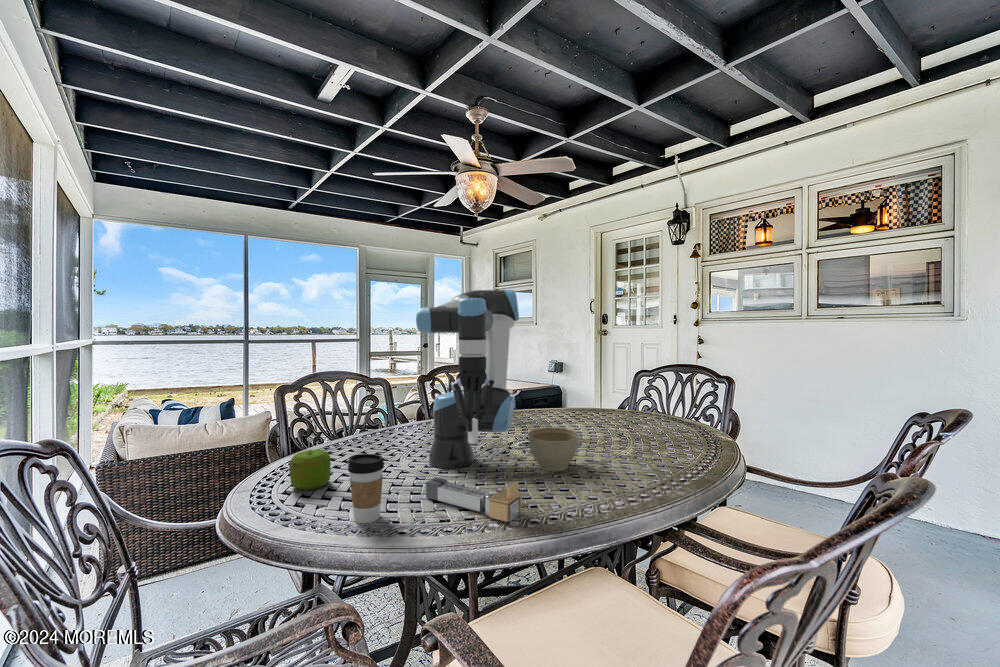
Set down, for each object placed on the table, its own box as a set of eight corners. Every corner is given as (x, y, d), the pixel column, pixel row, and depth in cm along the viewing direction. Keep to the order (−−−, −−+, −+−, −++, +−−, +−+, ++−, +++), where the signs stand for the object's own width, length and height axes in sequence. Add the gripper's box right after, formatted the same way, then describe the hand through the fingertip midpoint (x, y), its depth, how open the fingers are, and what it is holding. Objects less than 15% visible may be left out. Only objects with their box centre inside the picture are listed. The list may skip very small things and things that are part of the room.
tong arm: (489, 505, 113) (489, 489, 113) (485, 508, 112) (485, 491, 111) (435, 492, 122) (435, 477, 122) (431, 494, 121) (431, 479, 120)
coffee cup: (353, 511, 111) (352, 452, 111) (387, 509, 112) (386, 451, 112) (344, 526, 103) (343, 463, 103) (381, 525, 104) (380, 462, 103)
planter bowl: (521, 472, 139) (521, 437, 138) (536, 457, 153) (536, 425, 153) (572, 478, 132) (572, 443, 132) (583, 462, 147) (583, 430, 147)
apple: (322, 476, 136) (321, 441, 136) (337, 485, 128) (337, 448, 128) (284, 486, 128) (283, 449, 128) (298, 497, 121) (297, 457, 120)
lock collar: (521, 511, 110) (520, 480, 109) (507, 522, 104) (507, 489, 104) (503, 506, 112) (503, 476, 112) (489, 517, 107) (489, 485, 106)
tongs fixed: (518, 514, 109) (518, 496, 109) (510, 521, 105) (509, 502, 105) (436, 493, 122) (436, 477, 122) (426, 498, 119) (425, 482, 118)
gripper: (484, 353, 126) (485, 436, 126) (444, 355, 118) (444, 443, 119) (500, 355, 120) (500, 441, 120) (458, 357, 112) (459, 450, 113)
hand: (472, 442), depth 119 cm, fingers closed
